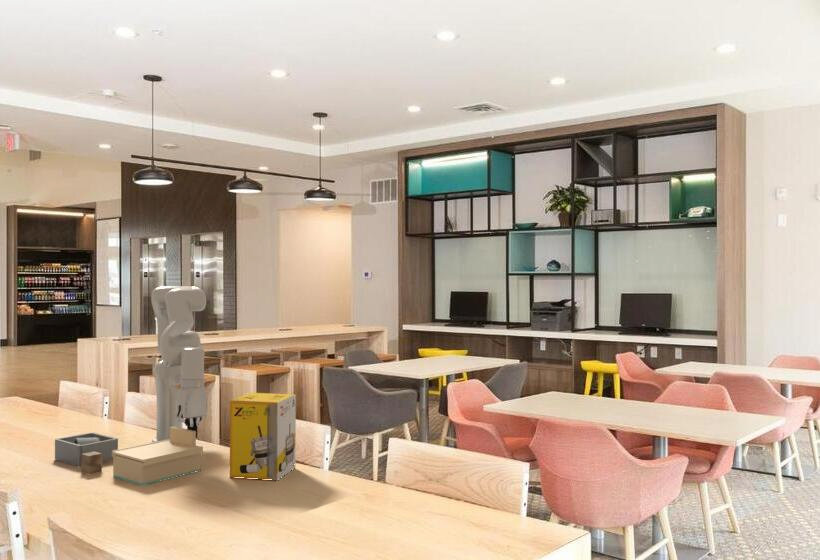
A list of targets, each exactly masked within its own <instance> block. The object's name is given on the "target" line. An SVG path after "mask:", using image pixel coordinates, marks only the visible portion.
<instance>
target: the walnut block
mask: <svg viewBox="0 0 820 560" xmlns="http://www.w3.org/2000/svg"><path fill="white" fill-rule="evenodd" d="M102 463H103V462H102V453H98V452H95V451H94V452H89V453H84V454H82V466H81V470H80V471H81V473H84V474H87V475H93V474H97V472H98V473H101V471H102V472H103V469H102V468H103V465H102Z"/></svg>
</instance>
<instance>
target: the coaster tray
mask: <svg viewBox="0 0 820 560" xmlns="http://www.w3.org/2000/svg"><path fill="white" fill-rule="evenodd" d="M94 437H95V438H99V439H100V440H101V441H100V442H95V443H89V444H84V445H78V444H75V443H74V441H75V439H76V438H94ZM114 450H119V438H118V437H113V436H109V435H106V434H101V433H97V432H88V433H81V434H76V435H69V436H65V437H60V438H55V439H54V460H55V459H56V461H59V462H61V463H62V462H63V463H66V464H68V465H71V466H75V467H78V466H79V467H82V454H84V453H89V452H94V451H95V452H98V453H102V463H103V462H109V461H113V457H112V451H114Z"/></svg>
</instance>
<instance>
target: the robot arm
mask: <svg viewBox="0 0 820 560" xmlns="http://www.w3.org/2000/svg"><path fill="white" fill-rule="evenodd" d="M150 298H151V299H150V300H151V306H152V309H153V312H154V314H155V317H156V322H157V323H156V324H157V325H156V326H157V331H156V332H157V350H158V353H159V354H160V355H161V360H160V361H158V362H157V363H155V365H154V368H153V374H154V379H155V380H154V381H155V390H156V437H153V438H152V441H151V443H153V442H158V441H163V440H168V439H170V427H178V428H183V424H184V425H185V426H186V429H188V430H192V431H196V439H197V438H198V426H199V425H200V423H201V421H202V420H204V419H206V418H207V413H208V396H207V390H206V387H205V383H206V381H207V379H206V378H205V349H204V348H203V347H202V344H201V343H202V342H201V338H200V335H199V333H198V332H196V331H194V330H191V329H192V328H193V327H194V325H195V320H194V316H193V312H202V311H204V310H205V309H206V305H207V297H206V294H205V291H204V290H203V289H202V288H200V287H197V286H190V285H189V286H186V285H185V286H184V285H183V286H178V285H177V286H176V285H175V286H174V285H173V286H171V285H170V286H168V285H167V286H158V287H155V288H153V290H152V291H151V294H150ZM176 385H180V388H177V386H176ZM183 429H185V428H183Z"/></svg>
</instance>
